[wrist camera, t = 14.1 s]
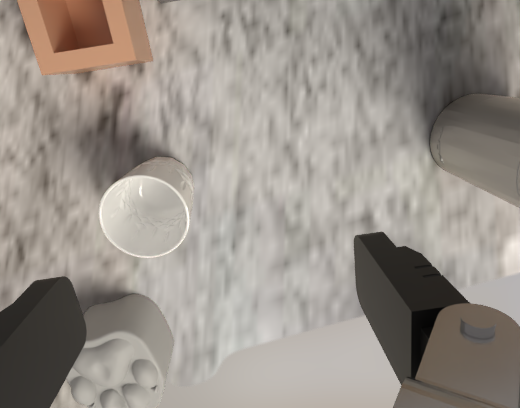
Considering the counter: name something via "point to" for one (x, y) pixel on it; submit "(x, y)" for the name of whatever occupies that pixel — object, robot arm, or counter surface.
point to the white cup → (148, 208)
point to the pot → (85, 34)
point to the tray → (163, 0)
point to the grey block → (123, 355)
